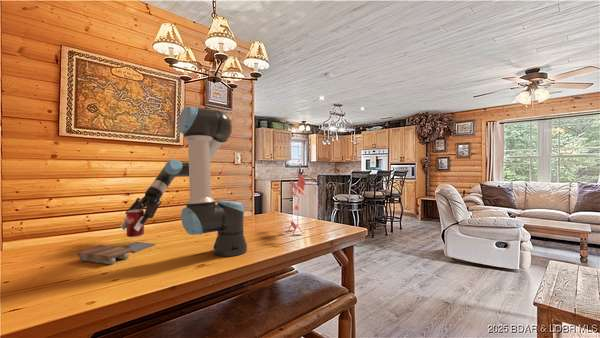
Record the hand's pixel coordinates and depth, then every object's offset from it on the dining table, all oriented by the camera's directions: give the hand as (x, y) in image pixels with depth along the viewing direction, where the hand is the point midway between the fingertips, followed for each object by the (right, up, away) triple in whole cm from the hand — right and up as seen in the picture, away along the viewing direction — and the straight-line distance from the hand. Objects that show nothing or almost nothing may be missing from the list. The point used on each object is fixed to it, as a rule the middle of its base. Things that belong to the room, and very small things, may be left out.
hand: (129, 228), depth 126 cm
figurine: (+80, -10, +35) cm, 88 cm away
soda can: (+1, -4, +3) cm, 6 cm away
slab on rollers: (-1, -10, -14) cm, 17 cm away
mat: (+1, -9, +3) cm, 10 cm away
